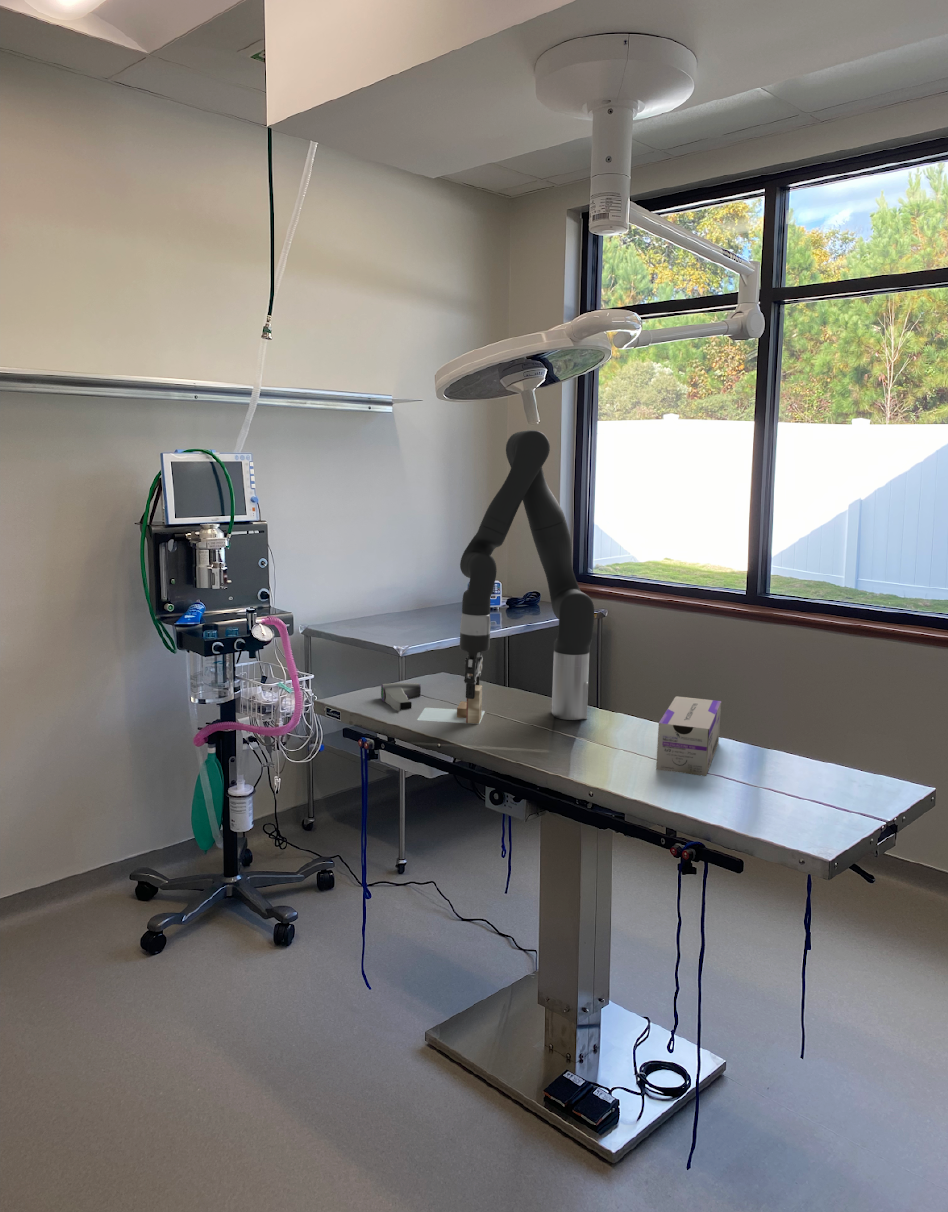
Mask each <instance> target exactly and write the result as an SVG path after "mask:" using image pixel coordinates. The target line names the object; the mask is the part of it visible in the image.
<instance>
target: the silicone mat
mask: <svg viewBox="0 0 948 1212" xmlns="http://www.w3.org/2000/svg"><path fill="white" fill-rule="evenodd" d="M485 713H486V712H485V710H482V714H481V720H480V722H479V724H478V725H480V724H481V721H482V719H483V717H484V714H485ZM416 721H421V722H435V723H436V722H439V723H455V724H456V723H457V724H467V723H466V718H458V717H457V708H456V709H455V708H438V707H437V708H436V707H424V709H423V710H422V711H421V713H420V714H419V716H418V718H417V719H416ZM470 724H474V725H477V724H476V723H470Z"/></svg>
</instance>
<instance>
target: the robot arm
mask: <svg viewBox="0 0 948 1212" xmlns="http://www.w3.org/2000/svg"><path fill="white" fill-rule="evenodd" d="M550 450H551V445H550V441H549V439H548V437H547V436H546V434H544V433H543V432H541V431H540V430H537V429H536V430H535V429H528V430H522V431H518V432H515V433H513V434H511V435H510V436H509V438H508V439H507V441H506V444H505V454H506V458H507V461H508V463H509V466H510V469H509V470H510V471H509V472H508V475H507V476H506V479H505V481H504V482H503V484H502V486H501V487H500V488H499V489H498V491H497V493H496V494H495V496H494V498H493V499H492V501H491V502H490V504H489V506H487V509H486V511H485V512H484V515H483V518H482V520H481V522H480V524H479V527H478V529H477V532H476V533H475V534H474V536H473V538H472V539H471V540H470V542H469V543H468V545H467V547H466V548H465V550H464V551H463V553H462V555H461V558H460V563H459V566H460V567H459V568H460V571H461V573H462V575H464V576H465V577H466V578H469V585H468V589H466V590H465V591H464V592H463V595H462V602H461V618H460V626H459V627H460V628H459V633H460V634H459V649H460V650H461V651H463V652H467V653H468V654H467V656H466V657H465V660H464V665H465V666H464V667H465V668H464V680H463V682H464V684H465V698H466V700H467V699H474V697H475V685H480V682H481V681H480V680H481V679H480V677H481V675H482V671H483V661H484V660H483V659H484V658H483V653H486V652H488V651H490V645H491V644H490V643H491V625H492V624H491V601H492V600H491V597H492V593H493V590H494V587H495V583H496V579H497V573H498V572H497V570H498V569H497V562H496V560H495V559H494V557H493V556H492V553H493V552H494V551H495V549H497V548H499V547H501V546H502V545H503V544H504V542H505V540H506V537H507V535H508V533H509V531H510V528H511V526H512V523H513V521H514V519H515V517H516V515H517V512H518V510H519V508H520V505H521V503H523V507H524V510H525V513H526V518H527V520H528V524H529V529H530V533H531V536H532V538H533V539H532V540H533V542H534V545H535V548H536V551H537V554H538V557H539V560H540V563H541V565H542V568H543V571H544V573H545V577H546V581H547V587H548V592H549V597H550V604H551V609H552V611H553V614H554V616H555V617H556V618H557V619H558V633H557V637H556V639H554V642H553V663H552V689H551V691H552V692H551V714H552V716H553V717H554V718H556V719H561V720H565V721H567V720H568V721H578V720H588V698H589V672H590V671H589V670H590V651H591V650H590V649H591V644H592V641H593V638H594V626H595V625H594V624H595V606H594V602H593V599H592V598H591V597H590V596H589V595H588V594H586V593H584V592H583V591H581V589H580V586H579V584H578V581H577V579H576V575H575V573H574V572H575V571H574V568H573V563H572V540H571V535H570V534H571V533H570V530H569V526H568V523H567V519H566V517H565V513H564V511H563V509H562V507H561V506H560V504H559V501H558V500H557V498H556V496H554V494H553V492H552V491H551V489H550V487H549V485H548V482H547V480H546V478H545V475H544V470H543V466H544V464H545V463H546V461H547V459H548V457H549V455H550Z"/></svg>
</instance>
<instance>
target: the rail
mask: <svg viewBox="0 0 948 1212" xmlns="http://www.w3.org/2000/svg"><path fill="white" fill-rule="evenodd" d="M466 707H467V701H462V700H461V701H460V702H459V704H458V706H457V708H456V709H457V717H458V718H466Z"/></svg>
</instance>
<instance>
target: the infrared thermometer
mask: <svg viewBox="0 0 948 1212" xmlns="http://www.w3.org/2000/svg"><path fill="white" fill-rule="evenodd" d="M380 687H381V688H380V698H381V700H382V702H384V703H386V704H387V705H389V706H390V707H391V708H392V709H393V710H395V711H397V712H399V713H400V712H401V711H402V710H409V709H412V701H410V700H409V699H412V698H418V697H419V698H420V697H421V688H422V687H421V683H417V682H416V683H414V682H413V683H412V682H392V683H382V684H381V686H380Z"/></svg>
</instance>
